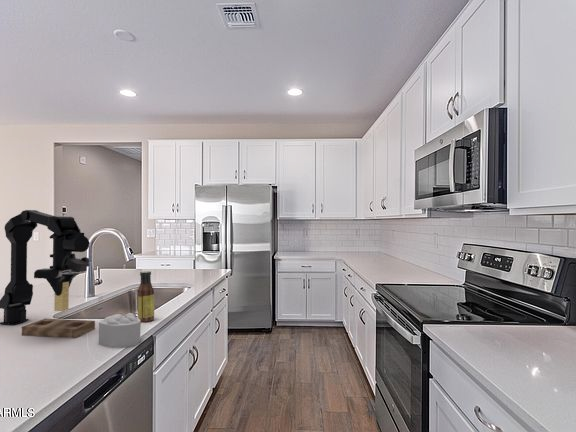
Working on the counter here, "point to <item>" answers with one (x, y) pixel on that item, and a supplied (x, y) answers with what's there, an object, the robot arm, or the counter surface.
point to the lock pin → (62, 297)
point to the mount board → (58, 328)
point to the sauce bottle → (145, 298)
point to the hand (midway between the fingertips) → (61, 294)
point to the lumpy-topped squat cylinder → (119, 331)
